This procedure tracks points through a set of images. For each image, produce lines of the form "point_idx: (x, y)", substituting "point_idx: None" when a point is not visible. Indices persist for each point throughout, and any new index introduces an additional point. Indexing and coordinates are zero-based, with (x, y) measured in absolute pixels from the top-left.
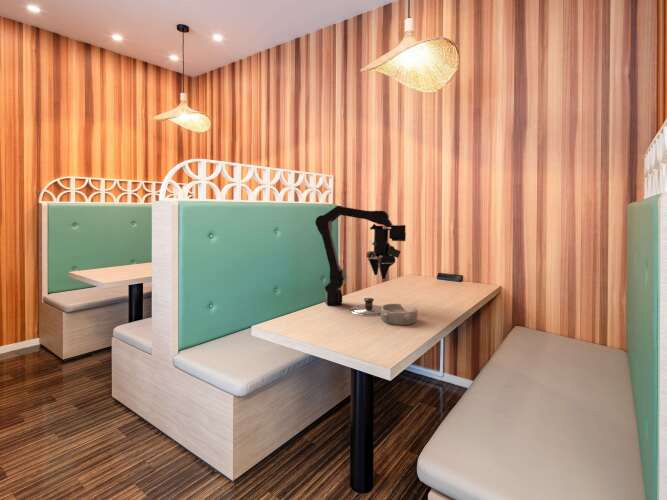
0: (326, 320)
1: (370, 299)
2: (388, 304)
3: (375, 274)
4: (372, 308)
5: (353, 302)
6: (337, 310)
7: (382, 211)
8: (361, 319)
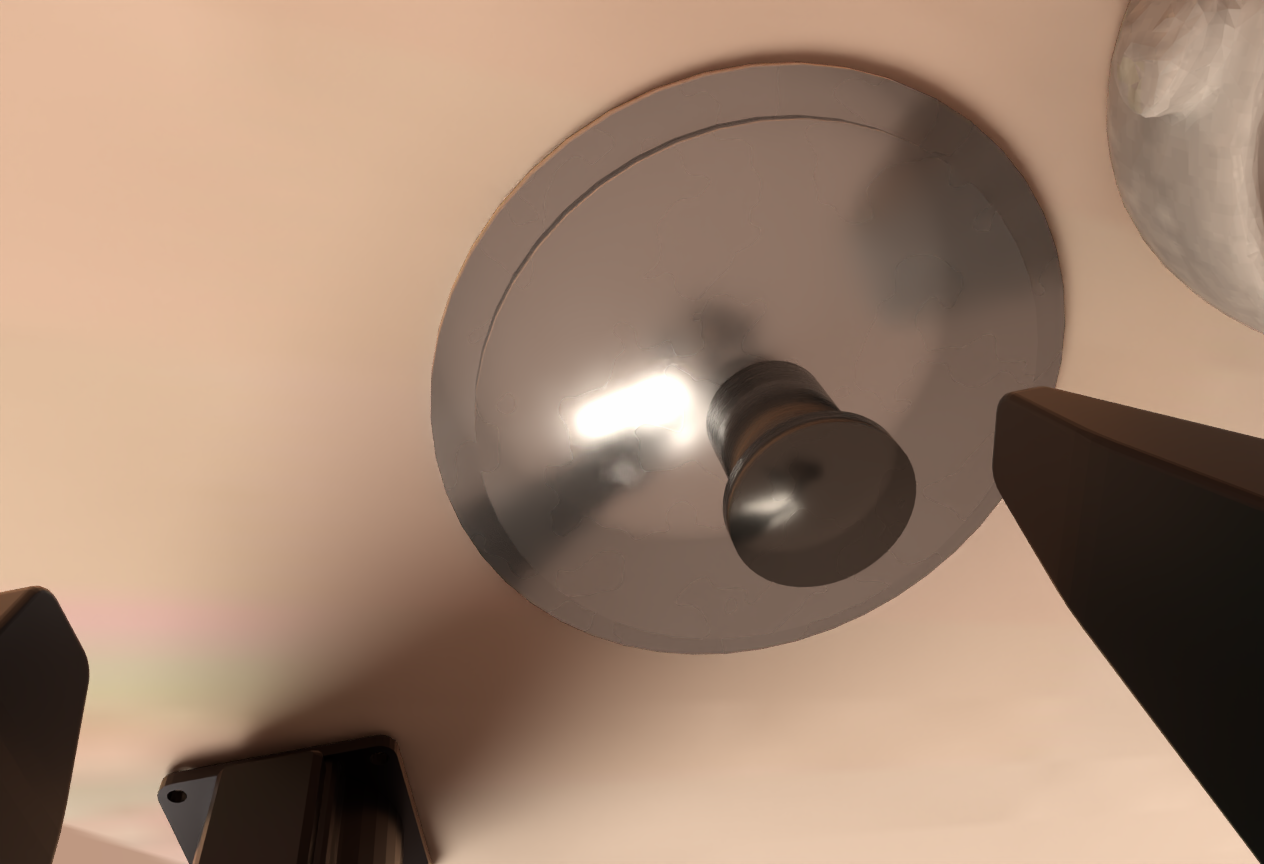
0: (1030, 830)
1: (869, 488)
2: (1258, 199)
3: (69, 663)
4: (795, 366)
5: (169, 581)
6: (667, 766)
7: None
8: None
